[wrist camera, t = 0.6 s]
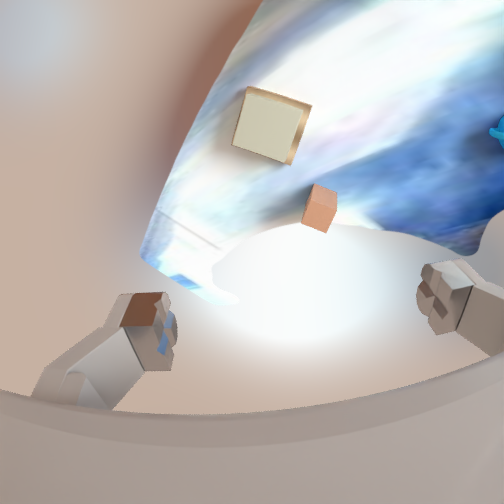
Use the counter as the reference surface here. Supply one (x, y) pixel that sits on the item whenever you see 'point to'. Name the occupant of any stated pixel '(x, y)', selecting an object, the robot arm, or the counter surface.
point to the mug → (498, 132)
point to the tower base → (289, 101)
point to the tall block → (320, 208)
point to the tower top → (267, 127)
